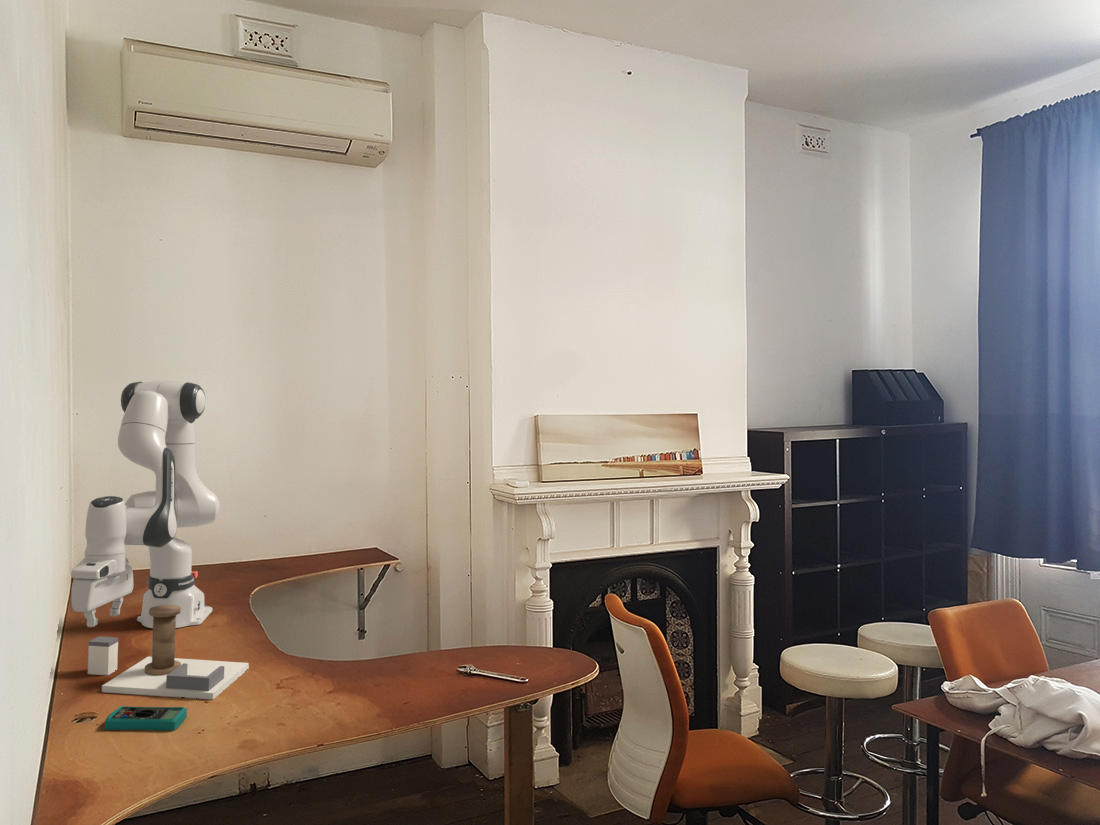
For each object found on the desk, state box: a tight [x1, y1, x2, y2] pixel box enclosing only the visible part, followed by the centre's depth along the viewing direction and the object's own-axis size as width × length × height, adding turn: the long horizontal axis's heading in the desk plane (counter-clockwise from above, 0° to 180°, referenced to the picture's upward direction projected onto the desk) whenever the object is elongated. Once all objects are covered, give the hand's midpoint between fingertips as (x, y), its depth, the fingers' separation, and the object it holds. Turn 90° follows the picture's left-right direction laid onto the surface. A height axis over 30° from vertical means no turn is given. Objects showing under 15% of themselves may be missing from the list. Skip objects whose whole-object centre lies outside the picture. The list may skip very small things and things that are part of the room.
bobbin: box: [145, 605, 181, 676], centre depth 199 cm, size 8×8×15 cm
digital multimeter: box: [104, 705, 188, 732], centre depth 173 cm, size 7×15×3 cm, turn 95°
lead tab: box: [87, 636, 119, 676], centre depth 199 cm, size 4×5×8 cm
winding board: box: [101, 656, 250, 701], centre depth 197 cm, size 20×26×4 cm
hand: (103, 620), depth 199 cm, fingers open, 8 cm apart
